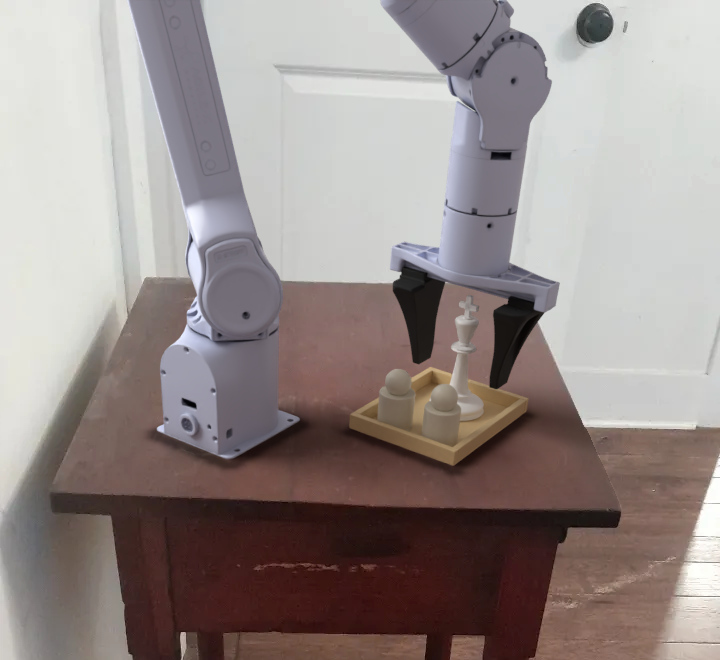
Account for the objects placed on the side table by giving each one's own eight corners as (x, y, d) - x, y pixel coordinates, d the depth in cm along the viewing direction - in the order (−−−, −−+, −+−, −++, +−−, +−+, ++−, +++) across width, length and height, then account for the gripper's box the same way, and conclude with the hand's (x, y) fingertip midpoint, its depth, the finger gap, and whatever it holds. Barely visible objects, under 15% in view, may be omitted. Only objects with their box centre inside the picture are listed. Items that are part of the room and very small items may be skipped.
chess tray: (452, 470, 79) (455, 451, 78) (348, 432, 83) (349, 414, 82) (525, 415, 88) (529, 398, 87) (428, 383, 92) (430, 366, 91)
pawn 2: (445, 454, 80) (452, 396, 77) (414, 443, 82) (420, 385, 78) (463, 441, 82) (471, 384, 79) (432, 431, 84) (439, 374, 80)
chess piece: (464, 426, 84) (480, 311, 78) (417, 409, 87) (428, 295, 80) (493, 408, 88) (511, 296, 81) (447, 392, 90) (460, 281, 84)
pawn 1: (399, 438, 82) (405, 380, 79) (369, 427, 83) (374, 370, 80) (418, 426, 84) (424, 369, 81) (389, 415, 85) (393, 359, 82)
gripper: (587, 215, 76) (555, 381, 85) (427, 178, 82) (412, 337, 91) (548, 235, 72) (518, 408, 80) (381, 194, 78) (370, 359, 86)
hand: (459, 372), depth 85 cm, fingers open, 7 cm apart
